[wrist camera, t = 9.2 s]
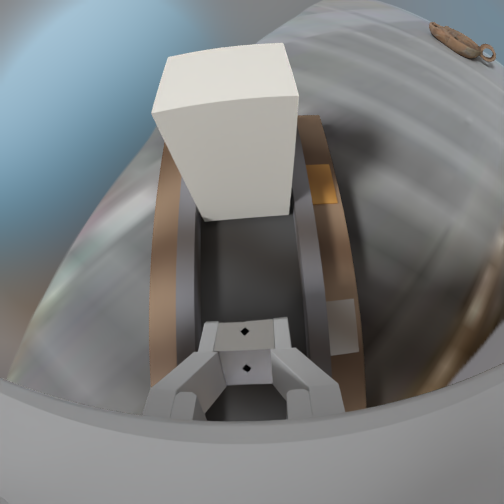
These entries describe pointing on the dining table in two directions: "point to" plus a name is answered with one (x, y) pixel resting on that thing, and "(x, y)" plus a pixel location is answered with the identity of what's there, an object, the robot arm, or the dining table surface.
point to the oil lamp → (460, 42)
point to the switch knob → (231, 128)
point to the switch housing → (259, 279)
